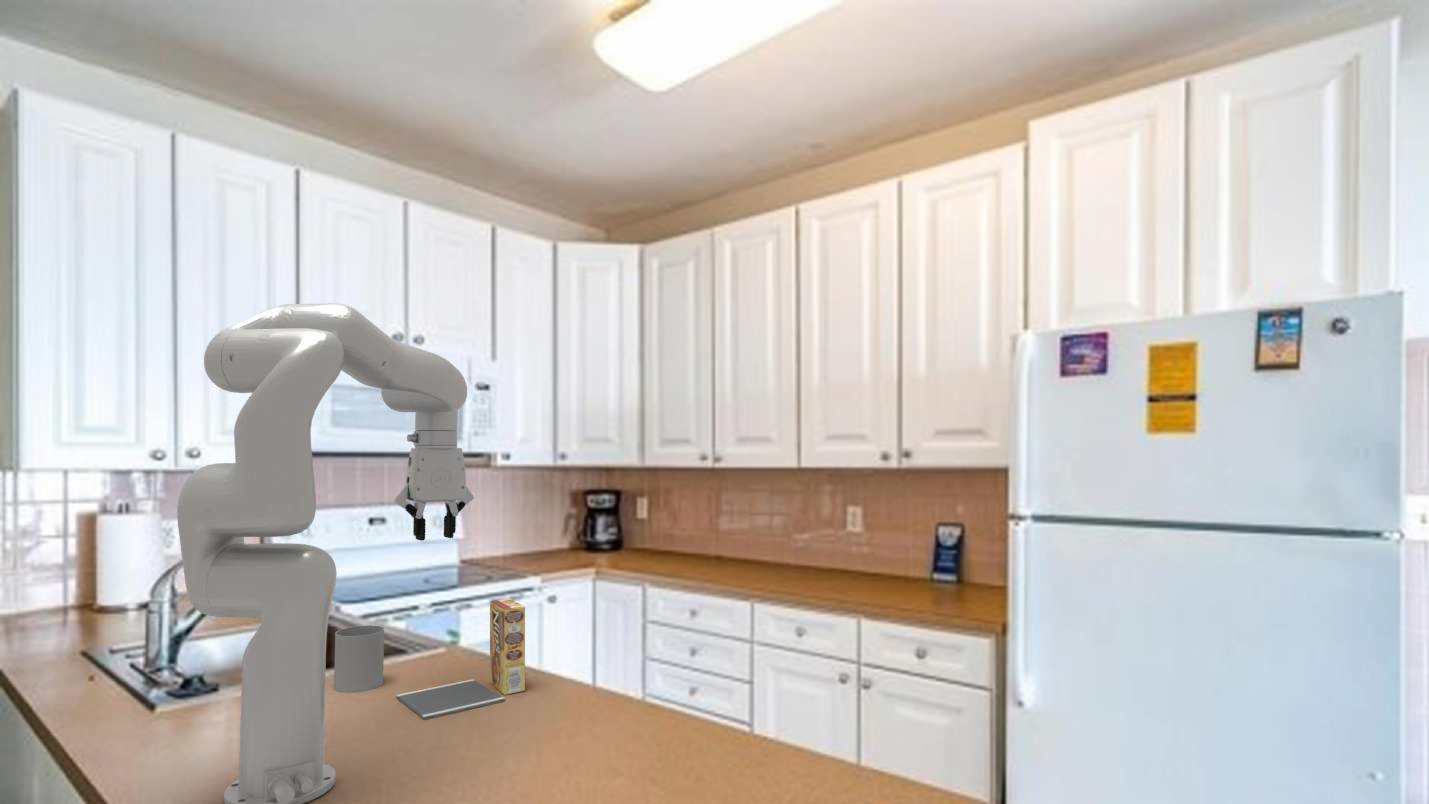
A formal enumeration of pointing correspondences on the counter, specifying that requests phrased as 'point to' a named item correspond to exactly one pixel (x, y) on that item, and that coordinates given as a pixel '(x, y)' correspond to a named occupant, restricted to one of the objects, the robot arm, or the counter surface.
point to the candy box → (507, 646)
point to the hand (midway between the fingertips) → (434, 537)
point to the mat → (449, 699)
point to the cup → (359, 658)
